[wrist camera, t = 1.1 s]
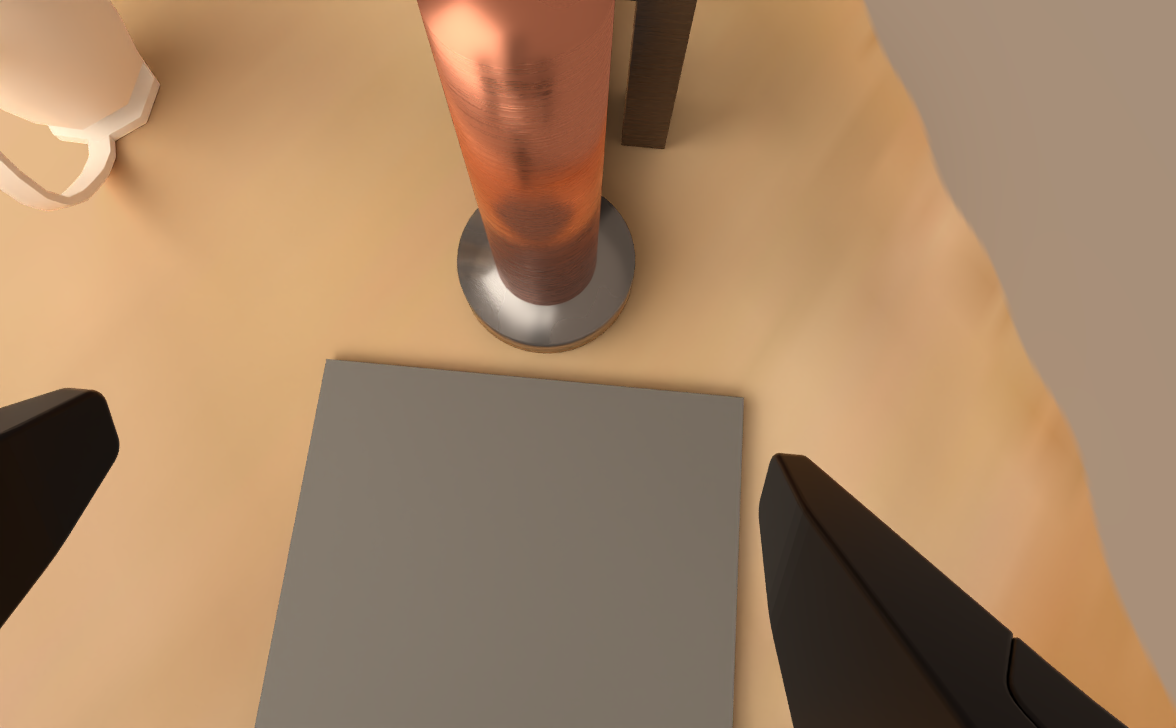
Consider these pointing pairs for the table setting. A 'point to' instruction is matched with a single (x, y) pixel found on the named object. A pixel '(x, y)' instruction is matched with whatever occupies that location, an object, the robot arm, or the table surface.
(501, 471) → the mat
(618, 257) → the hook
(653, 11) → the brown square arch
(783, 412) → the table surface
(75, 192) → the cup
